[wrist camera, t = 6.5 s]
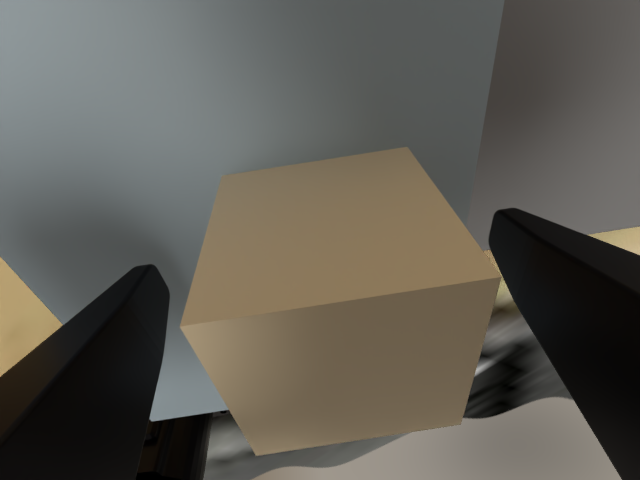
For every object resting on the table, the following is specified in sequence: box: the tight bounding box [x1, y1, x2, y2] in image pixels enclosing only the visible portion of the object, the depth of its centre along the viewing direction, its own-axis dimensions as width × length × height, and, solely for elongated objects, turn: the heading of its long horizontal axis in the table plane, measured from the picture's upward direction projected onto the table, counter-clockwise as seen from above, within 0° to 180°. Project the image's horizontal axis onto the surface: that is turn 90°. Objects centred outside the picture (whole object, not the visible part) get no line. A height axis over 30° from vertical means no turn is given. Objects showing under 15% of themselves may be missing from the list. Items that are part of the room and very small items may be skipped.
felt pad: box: [466, 0, 640, 251], centre depth 13 cm, size 17×12×1 cm
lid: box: [0, 0, 505, 456], centre depth 8 cm, size 15×11×6 cm
